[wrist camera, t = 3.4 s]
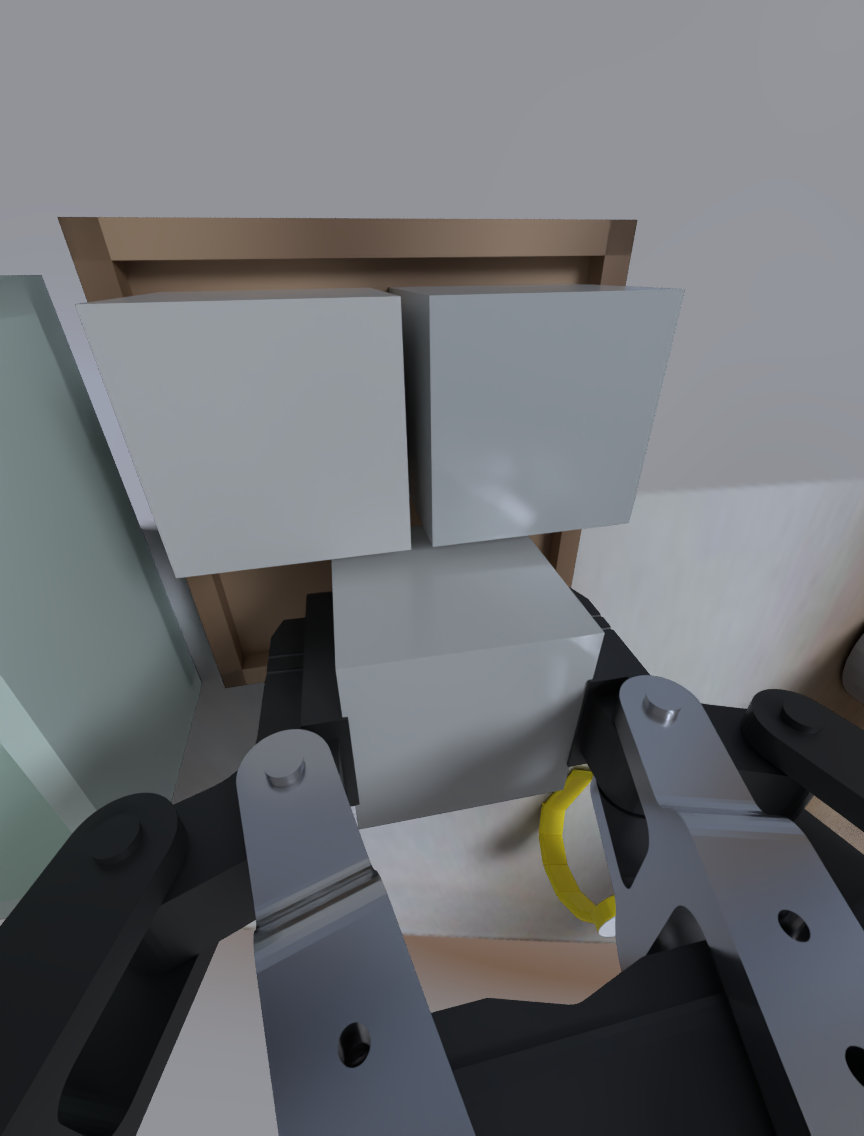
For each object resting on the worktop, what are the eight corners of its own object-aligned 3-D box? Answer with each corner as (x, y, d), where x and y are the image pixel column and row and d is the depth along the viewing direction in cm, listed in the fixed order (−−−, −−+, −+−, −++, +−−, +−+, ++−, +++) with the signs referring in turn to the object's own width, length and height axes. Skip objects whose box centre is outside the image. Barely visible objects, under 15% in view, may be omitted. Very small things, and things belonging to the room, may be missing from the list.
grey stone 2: (566, 283, 10) (685, 288, 7) (545, 456, 13) (628, 523, 9) (388, 286, 10) (429, 295, 6) (398, 470, 12) (432, 546, 9)
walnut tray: (601, 224, 11) (637, 219, 10) (545, 607, 17) (562, 633, 15) (89, 223, 9) (57, 217, 8) (231, 655, 15) (225, 688, 14)
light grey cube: (369, 287, 10) (400, 296, 6) (382, 471, 12) (411, 549, 9) (161, 292, 9) (74, 303, 6) (215, 487, 11) (175, 578, 8)
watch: (555, 817, 26) (607, 951, 21) (514, 814, 24) (559, 955, 20) (624, 753, 23) (703, 891, 18) (582, 746, 22) (653, 891, 17)
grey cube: (514, 517, 10) (604, 632, 7) (499, 652, 13) (563, 789, 9) (330, 533, 10) (335, 668, 6) (348, 673, 12) (359, 829, 9)
